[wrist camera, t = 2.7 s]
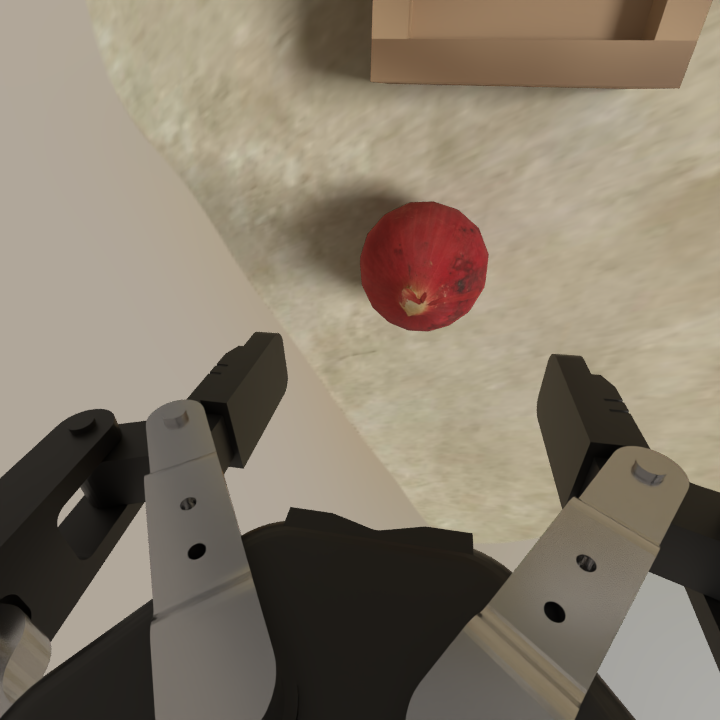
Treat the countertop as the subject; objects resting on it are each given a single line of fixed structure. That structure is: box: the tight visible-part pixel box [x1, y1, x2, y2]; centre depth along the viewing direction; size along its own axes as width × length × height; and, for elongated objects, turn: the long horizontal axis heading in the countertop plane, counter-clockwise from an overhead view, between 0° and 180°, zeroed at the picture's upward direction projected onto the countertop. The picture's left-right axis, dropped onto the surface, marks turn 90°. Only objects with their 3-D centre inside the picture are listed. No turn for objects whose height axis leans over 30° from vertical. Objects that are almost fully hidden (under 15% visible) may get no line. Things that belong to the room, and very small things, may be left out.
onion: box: [360, 202, 489, 331], centre depth 19 cm, size 6×6×8 cm
